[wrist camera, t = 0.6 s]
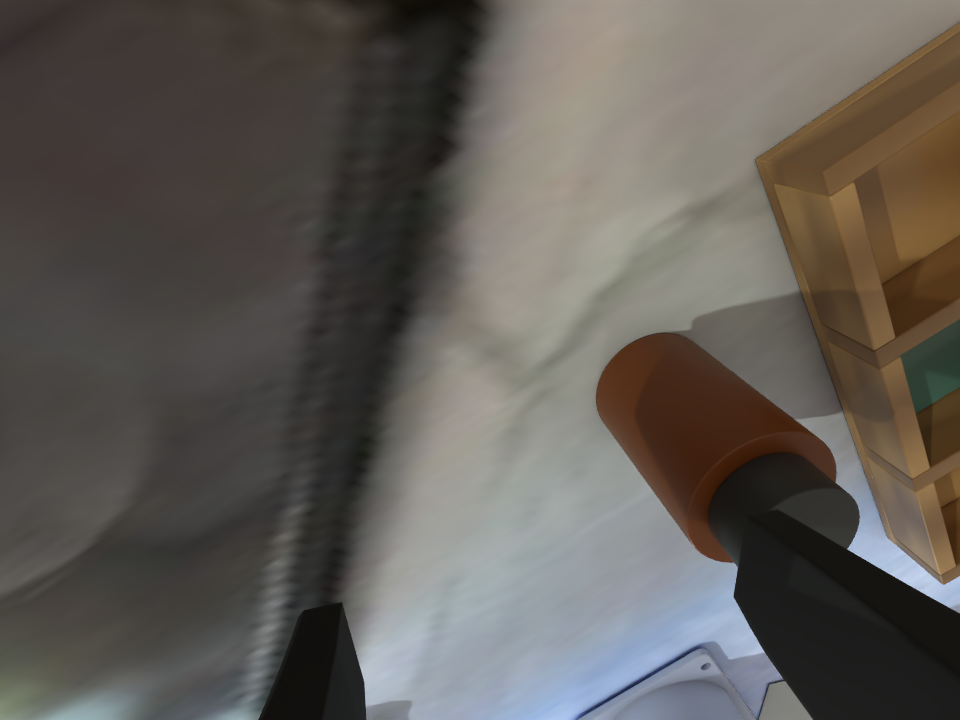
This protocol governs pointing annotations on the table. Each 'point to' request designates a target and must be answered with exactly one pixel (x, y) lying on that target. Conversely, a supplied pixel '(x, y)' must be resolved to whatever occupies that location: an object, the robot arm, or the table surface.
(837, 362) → the spice tray
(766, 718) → the skate ramp
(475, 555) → the table surface
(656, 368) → the spice bottle
